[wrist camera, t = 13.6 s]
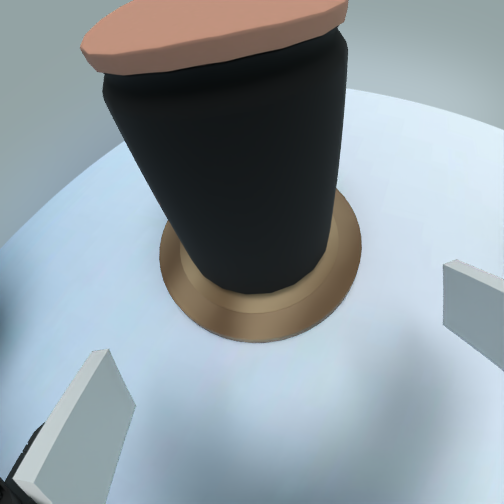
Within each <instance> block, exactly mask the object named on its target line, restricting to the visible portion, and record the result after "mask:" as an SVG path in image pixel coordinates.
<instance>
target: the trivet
mask: <svg viewBox="0 0 504 504" xmlns="http://www.w3.org/2000/svg"><path fill="white" fill-rule="evenodd" d="M361 249H362V247H361V233H360V228H359V224H358V221H357V218H356V216H355V213H354V212H353V210H352V208H351V206H350V204H349V203H348V201H347V200H346V199H345V197H344V196H343V195H342V194H341V193H340V192H339V191H338V190H337V189H336V192H335V200H334V207H333V214H332V221H331V228H330V234H329V238H328V243H327V248H326V251H325V253H324V255H323V256H322V258H321V259H320V261H319V262H318V264H317V265H316V267H315V268H314V270H313V271H311V272H310V273H309V274H307V275H306V276H305V277H304V278H302V279H301V280H300V281H298V282H297V283H296V284H294V285H292V286H289V287H286V288H284V289H281V290H278V291H275V292H273V293H265V294H242V293H238V292H234V291H230V290H226V289H222V288H221V287H219V286H218V285H216V284H214V283H213V282H211V281H210V280H208V279H207V278H205V277H204V276H203V275H202V274H201V272H200V271H199V269H198V268H197V267H196V265H195V264H194V263H193V261H192V260H191V258H190V257H189V255H188V253H187V251H186V250H185V248H184V246H183V245H182V243H181V241H180V240H179V238H178V236H177V234H176V233H175V231H174V229H173V227H172V226H171V224H170V222H169V221H167V223H166V225H165V228H164V231H163V234H162V238H161V243H160V256H159V260H160V268H161V273H162V277H163V280H164V283H165V285H166V287H167V290H168V292H169V293H170V295H171V297H172V298H173V300H174V301H175V303H176V304H177V305H178V306H179V307H180V308H181V309H182V310H183V312H184V313H185V314H186V315H187V316H188V317H189V318H190V319H192V320H193V321H194V322H195V323H197V324H198V325H199V326H201V327H202V328H204V329H206V330H207V331H209V332H211V333H213V334H216V335H218V336H221V337H223V338H227V339H231V340H234V341H240V342H249V343H266V342H273V341H279V340H284V339H287V338H290V337H294V336H297V335H299V334H301V333H303V332H305V331H308V330H310V329H311V328H313V327H314V326H316V325H318V324H319V323H321V322H322V321H323V320H324V319H326V318H327V317H328V316H329V315H330V314H332V313H333V312H334V310H335V309H336V308H337V307H338V306H339V305H340V304H341V302H342V301H343V299H344V298H345V296H346V295H347V293H348V292H349V290H350V288H351V286H352V283H353V281H354V279H355V276H356V273H357V270H358V267H359V263H360V258H361Z"/></svg>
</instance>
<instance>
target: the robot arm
mask: <svg viewBox="0 0 504 504" xmlns="http://www.w3.org/2000/svg"><path fill="white" fill-rule="evenodd" d="M443 325H444V326H445V327H446V328H448V329H449V330H450V331H452V332H453V333H454V334H456V335H457V336H459V337H460V338H461V339H463V340H464V341H465V342H467V343H468V344H469V345H471V346H472V347H473V348H474V349H476V350H477V351H478V352H480V353H481V354H482V355H484V356H485V357H486V358H488V359H489V360H490V361H491V362H493V363H494V364H495V365H497V366H498V367H499V368H500V369H502V370H503V371H504V279H502V278H499V277H497V276H495V275H492V274H490V273H488V272H485V271H483V270H481V269H478V268H476V267H474V266H471V265H469V264H466V263H464V262H462V261H459V260H457V259H456V260H454V261H451V262H448V263H445V264H443ZM135 407H136V405H135V403H134V401H133V399H132V397H131V395H130V393H129V391H128V389H127V387H126V385H125V383H124V381H123V379H122V377H121V374H120V372H119V370H118V368H117V366H116V364H115V362H114V359H113V357H112V355H111V353H110V350H109V349H104V350H98V351H92V352H91V354H90V355H89V357H88V358H87V359H86V361H85V362H84V364H83V365H82V367H81V368H80V370H79V371H78V373H77V374H76V376H75V377H74V379H73V380H72V382H71V383H70V385H69V386H68V388H67V389H66V391H65V392H64V394H63V395H62V397H61V398H60V400H59V402H58V403H57V405H56V406H55V408H54V409H53V411H52V413H51V414H50V416H49V417H48V419H47V421H46V422H44V423H43V424H42V425H41V426H40V427H39V428H38V429H37V430H36V431H35V432H34V433H33V435H32V436H31V438H30V439H29V441H28V445H27V444H26V446H25V448H24V449H23V453H21V454H20V456H19V458H18V459H17V461H16V463H15V465H14V466H13V468H12V470H11V471H10V473H9V475H8V477H7V478H6V480H5V482H4V481H3V480H2V479H1V478H0V504H106V500H107V496H108V493H109V490H110V486H111V483H112V479H113V476H114V473H115V469H116V466H117V463H118V460H119V456H120V453H121V450H122V447H123V444H124V441H125V437H126V434H127V431H128V428H129V425H130V422H131V419H132V416H133V413H134V410H135Z"/></svg>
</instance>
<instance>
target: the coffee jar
mask: <svg viewBox="0 0 504 504" xmlns="http://www.w3.org/2000/svg"><path fill="white" fill-rule="evenodd" d="M347 8H348V0H133V1H131V2H129V3H127V4H125V5H123V6H121V7H120V8H118V9H116V10H115V11H113V12H112V13H110V14H109V15H107V16H106V17H104V18H103V19H101V20H100V21H99V22H98V23H97V24H96V25H95V26H94V27H93V28H92V29H91V30H89V31H88V32H87V33H86V35H85V36H84V38H83V41H82V43H81V46H80V49H81V51H82V53H83V55H84V56H85V58H86V60H87V61H88V62H89V64H90V65H91V66H92V67H93V68H94V69H95V70H96V71H97V72H102V73H104V74H105V76H104V82H103V91H102V92H103V97H104V101H105V103H106V105H107V107H108V109H109V111H110V113H111V115H112V116H113V119H114V121H115V123H116V125H117V126H118V129H119V131H120V132H121V134H122V136H123V138H124V140H125V142H126V144H127V146H128V148H129V150H130V152H131V153H132V155H133V157H134V159H135V161H136V163H137V165H138V167H139V168H140V170H141V172H142V174H143V176H144V178H145V179H146V181H147V183H148V185H149V187H150V189H151V190H152V192H153V194H154V196H155V198H156V199H157V201H158V203H159V205H160V206H161V208H162V210H163V212H164V214H165V215H166V217H167V219H168V221H169V222H170V224H171V226H172V227H173V229H174V231H175V233H176V234H177V236H178V238H179V240H180V241H181V243H182V245H183V246H184V248H185V250H186V251H187V253H188V255H189V257H190V258H191V260H192V261H193V263H194V264H195V265H196V267H197V268H198V269H199V271H200V272H201V274H202V275H203V276H204V277H205V278H207V279H208V280H210V281H211V282H213V283H214V284H216V285H218V286H219V287H221V288H222V289H226V290H230V291H234V292H238V293H242V294H265V293H273V292H275V291H278V290H281V289H284V288H286V287H289V286H292V285H294V284H296V283H297V282H298V281H300V280H301V279H302V278H304V277H305V276H306V275H307V274H309V273H310V272H311V271H313V270H314V268H315V267H316V265H317V264H318V262H319V261H320V259H321V258H322V256H323V255H324V253H325V251H326V248H327V243H328V238H329V234H330V228H331V221H332V214H333V207H334V200H335V192H336V184H337V176H338V168H339V159H340V150H341V140H342V130H343V119H344V107H345V94H346V79H347V61H348V47H347V43H346V41H345V39H344V37H343V36H342V35H341V33H340V31H339V30H338V28H337V27H338V26H339V25H340V24H341V23H343V22H344V20H345V16H346V13H347Z"/></svg>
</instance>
